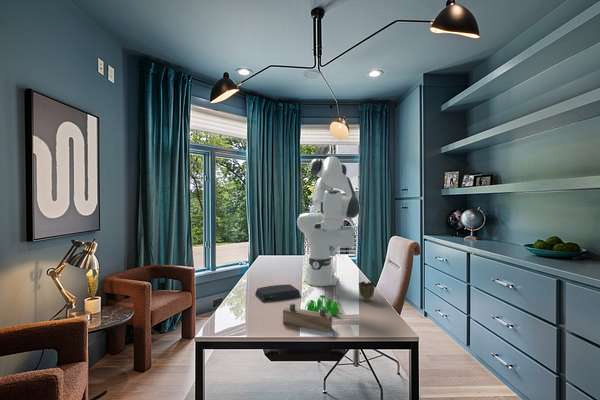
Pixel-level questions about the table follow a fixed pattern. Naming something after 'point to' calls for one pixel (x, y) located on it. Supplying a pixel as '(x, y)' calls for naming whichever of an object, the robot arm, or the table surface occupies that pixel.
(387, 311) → the table surface
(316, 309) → the chandelier
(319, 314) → the walnut block
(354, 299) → the table surface
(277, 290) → the external hard drive
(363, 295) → the cup
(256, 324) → the table surface
